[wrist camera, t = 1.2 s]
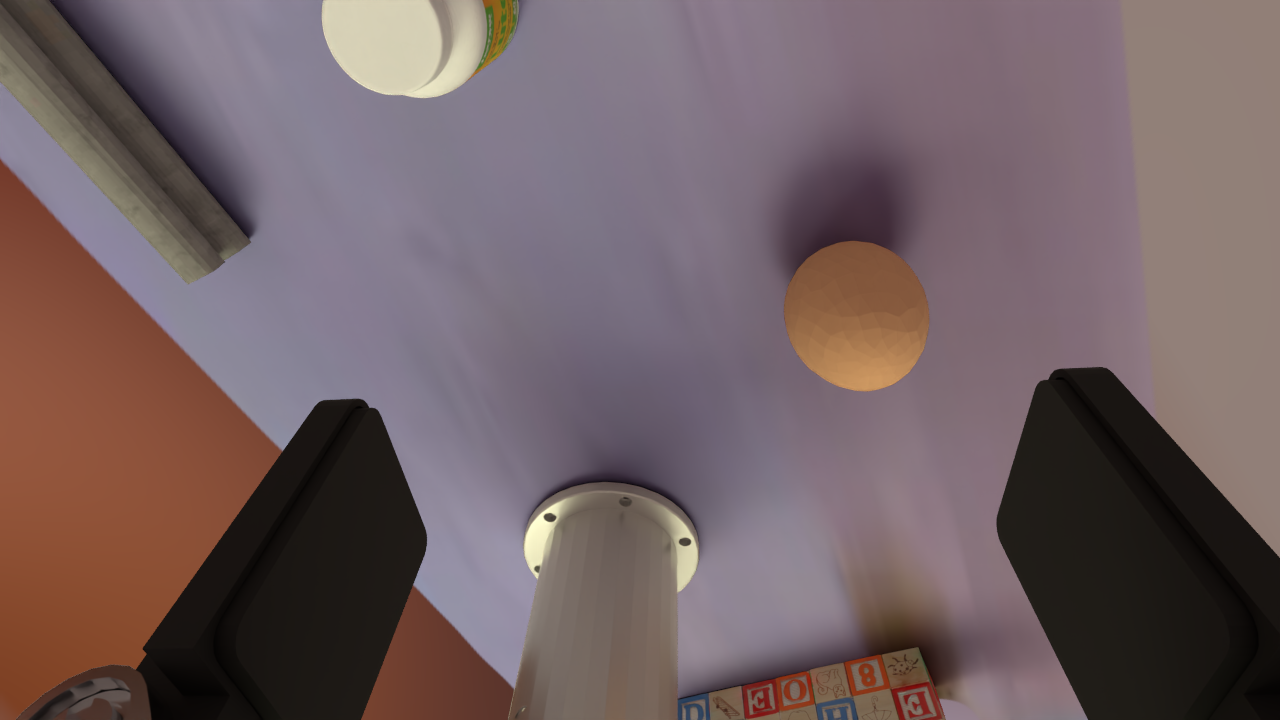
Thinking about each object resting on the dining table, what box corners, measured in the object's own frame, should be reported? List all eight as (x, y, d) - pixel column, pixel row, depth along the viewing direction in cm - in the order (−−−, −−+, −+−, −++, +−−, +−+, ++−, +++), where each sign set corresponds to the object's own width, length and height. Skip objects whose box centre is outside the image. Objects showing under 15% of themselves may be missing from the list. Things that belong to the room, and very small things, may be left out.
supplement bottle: (530, 60, 31) (480, 110, 23) (419, 71, 32) (332, 124, 24) (507, -77, 29) (440, -74, 20) (385, -62, 29) (272, -54, 21)
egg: (925, 247, 36) (992, 337, 28) (853, 343, 39) (896, 447, 31) (817, 196, 34) (857, 275, 27) (752, 299, 38) (771, 396, 30)
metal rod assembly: (265, 233, 37) (212, 273, 33) (228, 252, 38) (172, 294, 34) (-225, -364, 25) (-408, -420, 21) (-266, -318, 26) (-449, -363, 21)
